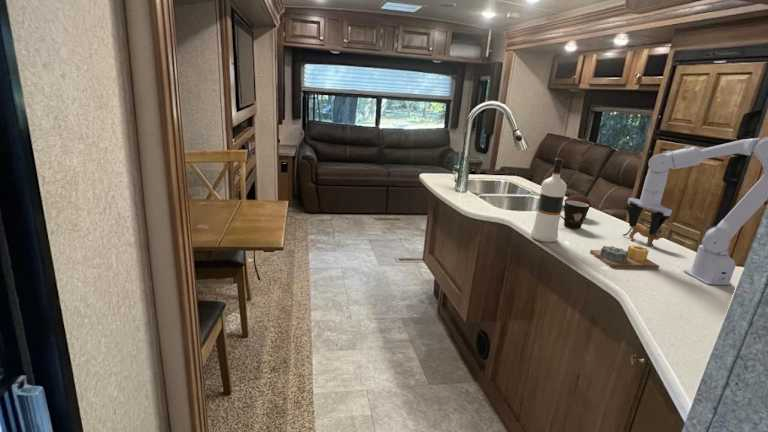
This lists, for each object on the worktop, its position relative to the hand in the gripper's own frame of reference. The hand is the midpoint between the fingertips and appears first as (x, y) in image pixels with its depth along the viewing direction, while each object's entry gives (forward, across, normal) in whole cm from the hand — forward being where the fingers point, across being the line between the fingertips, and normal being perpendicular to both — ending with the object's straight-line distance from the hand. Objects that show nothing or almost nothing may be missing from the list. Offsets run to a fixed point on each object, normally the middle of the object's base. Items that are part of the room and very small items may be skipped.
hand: (642, 230), depth 135 cm
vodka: (+10, +20, +21) cm, 31 cm away
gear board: (+10, -2, +7) cm, 12 cm away
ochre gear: (+9, -3, +3) cm, 10 cm away
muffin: (+10, +45, -14) cm, 48 cm away
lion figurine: (+10, +12, -18) cm, 23 cm away
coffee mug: (+10, +33, -1) cm, 35 cm away
